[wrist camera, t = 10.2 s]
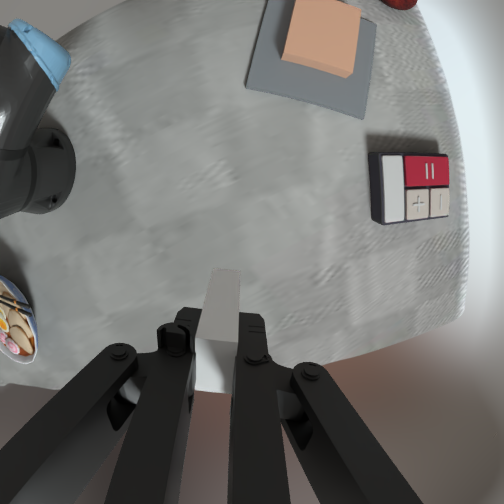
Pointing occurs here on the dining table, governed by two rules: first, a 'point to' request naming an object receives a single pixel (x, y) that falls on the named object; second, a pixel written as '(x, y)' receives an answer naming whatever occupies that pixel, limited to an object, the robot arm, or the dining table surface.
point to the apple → (400, 4)
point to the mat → (307, 78)
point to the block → (323, 36)
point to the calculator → (408, 186)
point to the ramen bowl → (16, 324)
